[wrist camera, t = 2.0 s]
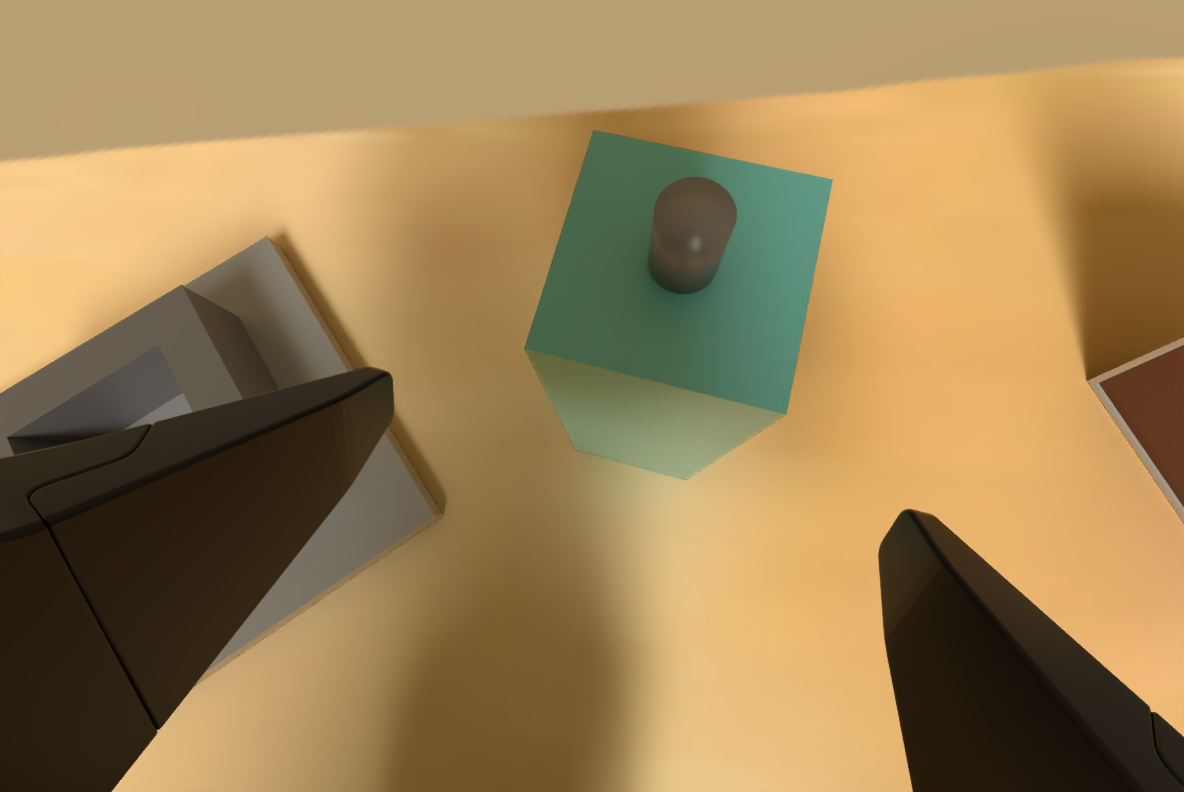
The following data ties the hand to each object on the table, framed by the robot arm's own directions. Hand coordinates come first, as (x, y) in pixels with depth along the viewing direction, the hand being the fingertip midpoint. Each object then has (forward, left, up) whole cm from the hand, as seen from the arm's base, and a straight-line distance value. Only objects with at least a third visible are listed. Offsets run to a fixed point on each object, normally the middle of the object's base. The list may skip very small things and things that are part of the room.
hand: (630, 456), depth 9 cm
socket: (-9, +14, -12) cm, 20 cm away
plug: (+3, +1, -12) cm, 12 cm away
